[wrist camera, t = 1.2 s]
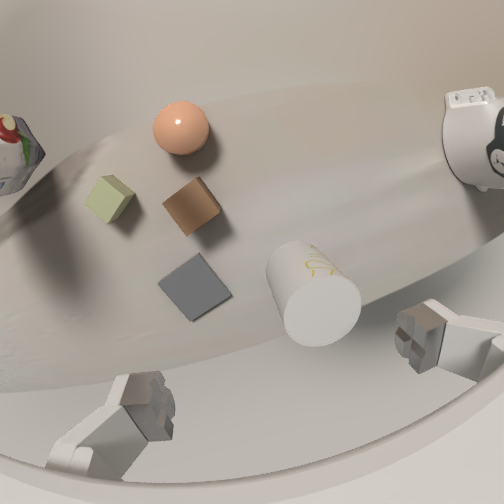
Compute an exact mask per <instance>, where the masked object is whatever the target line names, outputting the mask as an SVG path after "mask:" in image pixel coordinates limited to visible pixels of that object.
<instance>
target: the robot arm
mask: <svg viewBox="0 0 504 504" xmlns="http://www.w3.org/2000/svg"><path fill="white" fill-rule="evenodd" d="M455 98H456V99H455ZM445 103H446V114H445V118H444V123H443V144H444V150H445V154H446V157H447V160H448V163H449V165H450V167H451V169H452V171H453V172H454V174H455V175H456V176H457V177H458V178H459V179H460V180H461V181H462V182H464V183H466V184H470V185H474V186H475V187H476V188H477V189H478V190H479V191H481V192H486V191H487V190H488V188H497V189H504V96H500V97H496V96H495V93H494V90H493V89H490V88H489V87H478V88H471V89H465V90H459V91H453V92H448V93H446V95H445ZM396 324H397V325H398V326H399V328H398V329H397V331H396V333H395V344H396V348H397V350H398V352H399V353H400V355H402V357H405V358H408V359H409V364H410V365H411V367H412V368H413V369H414V370H415V371H416V372H417V373H418V374H420V373H422V372H425V371H427V370H429V369H431V368H433V367H435V366H438V367H440V368H442V369H445V370H447V371H450V372H453V373H455V374H458V375H460V376H463V377H465V378H468V379H471V380H473V381H476V382H477V384H476V385H475V386H473V387H472V388H470V389H469V390H467V391H466V392H464V393H463V394H461V395H460V396H459V397H457V398H455V399H454V400H452V401H451V402H449V403H447V404H446V405H444V406H442V407H441V408H439V409H437V410H436V411H434V412H432V413H430V414H429V415H427V416H425V417H423V418H421V419H419V420H418V421H416V422H414V423H412V424H410V425H408V426H406V427H404V428H402V429H400V430H398V431H395V432H393V433H391V434H389V435H387V436H385V437H382V438H380V439H378V440H375V441H373V442H370V443H368V444H366V445H363V446H360V447H358V448H355V449H352V450H350V451H347V452H344V453H341V454H338V455H335V456H332V457H329V458H326V459H323V460H319V461H316V462H312V463H309V464H306V465H301V466H298V467H293V468H289V469H285V470H280V471H276V472H271V473H266V474H260V475H255V476H249V477H242V478H235V479H227V480H218V481H207V482H192V483H140V482H125V481H123V480H122V479H121V477H122V476H123V475H124V474H125V472H126V471H127V470H128V468H129V467H130V466H131V465H132V463H133V462H134V461H135V460H136V458H137V457H138V456H139V455H140V453H141V452H142V451H143V449H144V448H145V447H146V446H147V444H148V442H151V441H166V440H172V435H173V423H172V422H171V419H172V418H173V416H174V415H175V402H174V399H173V395H172V393H171V391H170V389H168V388H166V387H165V386H164V382H165V379H164V377H163V375H162V373H161V372H159V371H152V372H140V373H132V374H131V373H129V374H119V375H117V376H116V378H115V381H114V383H113V386H112V388H111V391H110V393H109V396H108V398H107V401H106V404H105V406H100V407H99V408H98V409H97V410H95V411H94V412H93V413H92V414H91V415H89V416H88V417H87V418H85V419H84V420H83V421H82V422H80V423H79V424H78V425H77V426H75V427H74V428H73V429H72V430H70V431H69V432H68V433H66V434H65V435H64V436H63V437H61V438H60V439H59V440H57V441H56V442H55V444H54V447H53V449H52V452H51V454H50V456H49V459H48V461H47V464H46V466H45V468H43V467H39V466H35V465H32V464H28V463H25V462H22V461H19V460H16V459H13V458H10V457H7V456H5V455H2V454H0V504H504V322H502V321H495V320H489V319H482V318H476V317H470V316H464V315H461V316H458V315H456V314H455V313H453V312H452V311H450V310H449V309H447V308H446V307H445V306H443V305H442V304H440V303H438V302H437V301H436V300H434V299H429V300H427V301H425V302H422V303H420V304H419V305H416V306H414V307H411V308H409V309H406V310H404V311H401V312H398V314H397V317H396Z"/></svg>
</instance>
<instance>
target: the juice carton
mask: <svg viewBox="0 0 504 504" xmlns="http://www.w3.org/2000/svg"><path fill="white" fill-rule="evenodd" d="M44 156H45V152H44V150H43V148H42V147H41V146H40V144H39V143H38V142H37V140H36V139H35V138H34V136H33V135H32V133H31V131H30V129H29V128H28V126H27V124H26V123H25V121H24V120H23V119H22V118H20V117H17V116H11V115H4V114H0V196H4V195H8V194H12V193H15V192H17V191H19V190H21V189H22V188H23V187H24V186H25V184H26V183H27V181H28V179H29V178H30V176H31V174H32V173H33V171H34V170H35V169H36V167H37V166H38V165H39V164H40V162H41V161H42V159H43V158H44Z"/></svg>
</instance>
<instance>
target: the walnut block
mask: <svg viewBox="0 0 504 504" xmlns="http://www.w3.org/2000/svg"><path fill="white" fill-rule="evenodd" d="M162 204H163V206H164V207H165V208H166V210H167V211H168V212H169V214H170V215H171V216H172V218H173V219H174V220H175V222H176V223H177V224H178V226H179V227H180V228H181V230H182V231H183V232H184V234H185V235H186V236H188V235H189V234H191V233H192V232H193V231H195V230H196V229H198V228H199V227H200V226H202V225H203V224H205V223H206V222H207V221H209V220H210V219H212V218H213V217H214V216H216V215H217V214H219V213H220V208H221V206H220V204H219V203H218V201H217V200H216V199H215V197H214V196H213V194H212V193H211V192H210V190H209V189H208V188H207V186H206V185H205V183H204V182H203V181H202V179H201V178H200V177H197V178H195V179H194V180H192V181H191V182H190V183H188V184H187V185H186V186H184V187H183V188H182V189H180V190H179V191H178V192H176V193H175V194H174V195H172V196H171V197H170V198H168V199H167V200H166V201H165V202H163V203H162Z"/></svg>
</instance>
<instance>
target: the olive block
mask: <svg viewBox="0 0 504 504" xmlns="http://www.w3.org/2000/svg"><path fill="white" fill-rule="evenodd" d="M134 194H135V193H134V192H133V191H132V190H131V189H130V188H128V187H127V186H126V185H125V184H123V183H122V182H121V181H120V180H119V179H117V178H116V177H115V176H114V175H109V176H101V177H100V179H99V180H98V182H97V183H96V185H95V187H94V188H93V190H92V191H91V193H90V195H89V196H88V198H87V200H86V202H85V203H84V205H86V206H87V207H88V208H89V209H90V210H91V211H92V212H94V213H95V214H96V215H97V216H98V217H99V218H101V219H102V220H103V221H104V222H105V223H107V224H109V223H110V222H112V221H114V220H116V219H117V218H119V217H120V215H121V213H122V212H123V210H124V209H125V208H126V206H127V205H128V203H129V202H130V200H131V199H132V197H133V196H134Z"/></svg>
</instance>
